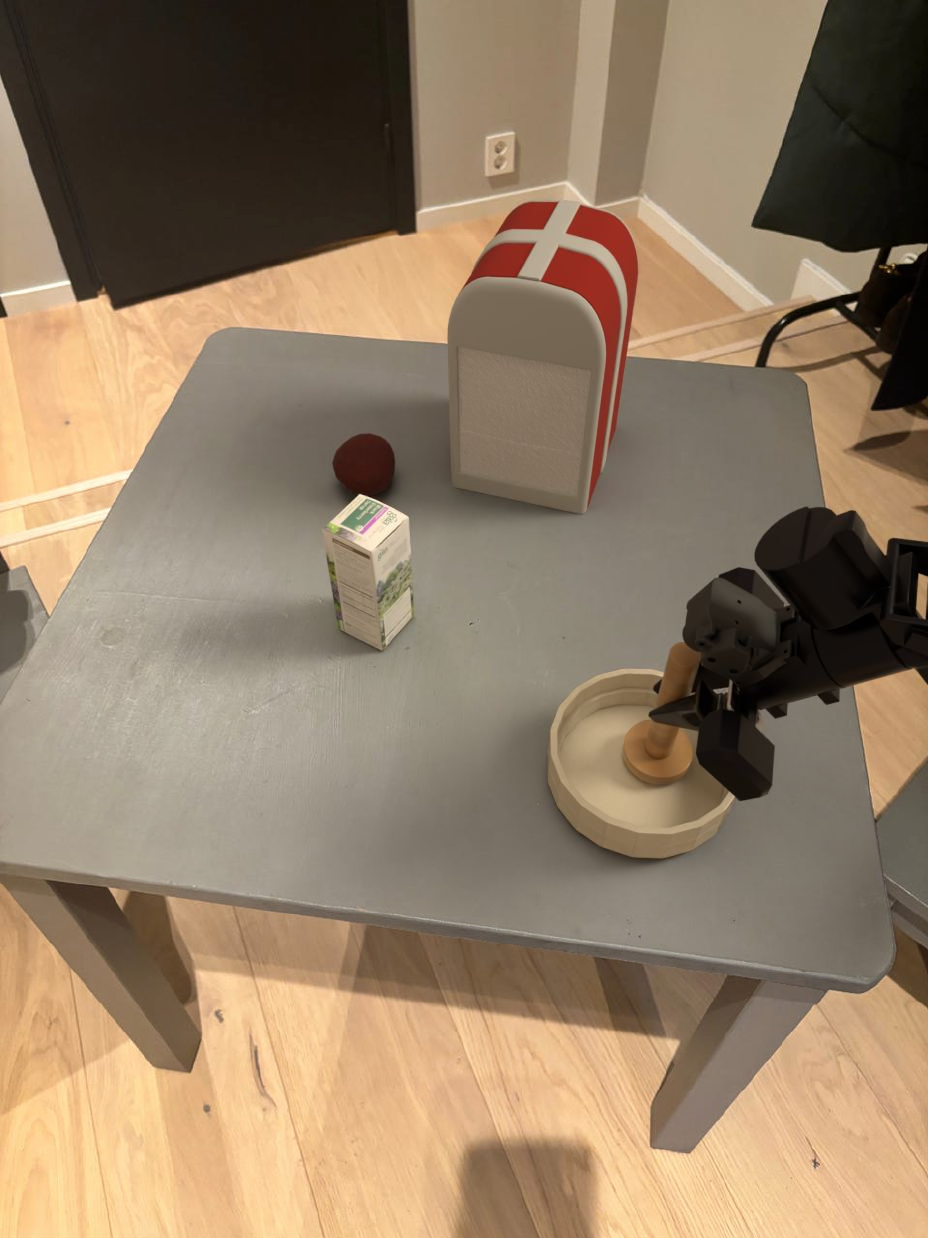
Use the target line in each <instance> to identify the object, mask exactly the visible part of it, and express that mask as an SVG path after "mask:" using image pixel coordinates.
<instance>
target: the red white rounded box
mask: <svg viewBox="0 0 928 1238" xmlns="http://www.w3.org/2000/svg"><path fill="white" fill-rule="evenodd" d="M639 265H640V263H639V255H638V250H637V245H636V241H635V239H634V236H633V234H632V232H631V230H630V228H629V227H628V225H627V224H626V223H625V222H624V220H623V219H622V218H621V217H619V215H617V214H615V213H614V212H612V211H611V210H607V209H603V208H599V207H596V206H592V205H589V204H586V203H581V202H580V201H576V200H568V199H563V198H561V199H559V200H553V199H552V200H551V199H550V200H549V199H548V200H547V199H544V200H542V199H541V200H538V199H536V200H535V199H532V200H531V199H530V200H527V201H524V202H522V203H520V204H518V205H517V206H516V207H515V208H513V209H512V210H511V211H510V213H509V214H508V215H507V216H506V217H505V219H504V220H503V222H502V224H500V227H499V228H498V230H497V231H496V232H495V235H494V237H493V238H492V239H490V241H489V242H488V243H487V244H486V245H485V247H484V248H483V250H482V252H481V253H480V255H479V257H478V258H477V259H476V261H475V263H474V266H473V268H472V270H471V273H470V274H469V277H468V278H467V280H466V281H465V283H464V285H463V286H462V287H461V289H460V291H459V293H458V294H457V296H456V298H455V300H454V302H453V304H452V307H451V308H450V313H449V316H448V321H447V322H448V323H447V335H446V336H447V337H446V339H447V367H448V368H447V370H448V371H447V375H448V402H449V403H448V405H449V407H448V408H449V438H450V442H449V443H450V470H451V471H450V475H451V486H452V487H453V488H456V489H461V490H465V491H471V492H474V493H475V492H476V493H480V494H485V495H489V496H493V497H499V498H504V499H507V500H512V501H518V502H522V503H527V504H531V505H536V506H539V507H545V508H549V509H555V510H559V511H563V512H568V513H573V514H578V515H583V514H585V513H586V512H587V510H588V509H589V506H590V503H591V501H592V497H593V495H594V492H595V489H596V485H597V483H598V480H599V477H600V475H601V474H602V473H603V471H604V469H605V465H606V463H607V456H608V452H609V449H610V447H611V444H612V441H613V437H614V435H615V431H616V429H617V426H618V425H617V424H618V418H619V410H620V403H621V397H622V391H623V384H624V377H625V370H626V363H627V357H628V349H629V343H630V337H631V329H632V323H633V318H634V317H633V316H634V309H635V302H636V295H637V290H638V283H639V282H638V281H639V273H640V271H639V269H640V268H639V267H640V266H639Z"/></svg>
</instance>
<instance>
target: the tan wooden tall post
mask: <svg viewBox="0 0 928 1238" xmlns="http://www.w3.org/2000/svg"><path fill="white" fill-rule="evenodd" d="M700 661H701V652H696V651H694V650H692V649H691V648H689V647H688V646H687V645H686V643H685V642H684V641H681V642H676V643H675V644H673V645H672V646H671V648H670V649H669V653H668V656H667V660H666V664H665V667H664V671H663V672H664V675H663V678H662V682H661V686H660V690H659V693H658V697H657V701H656V705H655V708H654V709H656V708H658V707H660V706H662V705H665V704H668V703H671V702H673V701H676V700H679V699H682V698H685V697H688V696H690V693H691V690H692V687H693V684H694V680H695V677H696V674H697V671H698V668H699V665H700ZM623 758H624V761H625V763H626V765H627V767H628V768H629V770H630V771H631V772H632V773H633V774H634V775H636V776H637V777H638V778H640V779H642V780H644V781H646V782H649V783H653V784H669V783H672V782H675V781H677V780H679V779H680V778H682V777H683V776H684V775H685V774H686V773H687V771H688V769H689V767H690V764H691V761H692V758H693V747H692V744H691V741H690V739H689V738H688V736H687V735H686V733H685V732H684V731H683V730H682V729H680V727H675V726H670V725H665V724H660V723H656V722H654V721H653V720H652V719H650V720H645V721H642V722H639V723H637V724H636V725H634V726H633V727H632V728H631V729H630V730H629V731H628V733H627V734H626V737H625V740H624V744H623Z"/></svg>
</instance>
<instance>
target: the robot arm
mask: <svg viewBox="0 0 928 1238" xmlns="http://www.w3.org/2000/svg"><path fill="white" fill-rule="evenodd" d="M753 557H754V562H755V564H756V566H757V567H758V568H759V569H760V571H761V572H762V573H763V574H764V575H765V576H766V578H767V579H768V580H769V581H770V583H771V584H772V585H773V586H774V588H775V589H776V590H777V591H778V592H779V593H780V595H781V596H782V597H783V598H784V600H786V602H787V603H788V605H786V606H785V602H784V600H782V598H780V596H779V595H778V594H777V593H776V592H775V590H774V589H772V587H771V586H770V585H769V584H768V583H767V582H766V581H765V580H764V578H763V577H762V576H761V575H760V574H759V573H758V572H757V571H756V569H753V568H752V569H751V568H746V567H741V566H738V567H735V568H732V569H730V570H727V571H724V572H723V573H720V574H718V577H714V578H713V579H712V580H711V581H709V582H708V583H707V584H706V585H704V587H702V589H700V590H699V591H698V592H697V593H695V595H693V596H692V597H691V598H690V599H689V600H688V601H687V602H686V607H685V608H686V615H685V622H684V626H683V628H682V632H681V633H682V634H681V635H682V640H683V642H685V643H686V645H687V646H688V647H689V648H691V649H692V650H694V651H696V652H701V661H700V665H699V668H698V671H697V674H696V677H695V680H694V684H693V687H692V690H691V693H695V694H693V695H690V696H688V697H685V698H682V699H679V700H676V701H673V702H671V703H668V704H665V705H662V706H660V707H658V708H656V709H654V710H652V711H650V712H649V714H648V716H649V718H651V719H652V720H653V721H654V722H656V723H660V724H665V725H670V726H675V727H680V728H685V729H690V730H695V731H699V732H698V739H697V747H696V756H697V759H698V762H699V764H700V765H701V766H702V767H703V768H704V769H705V770H706V771H707V772H708V773H709V774H711V775H712V776H713V777H714V778H715V779H716V780H717V781H718V782H719V783H721V784H722V785H723V786H724V787H725V788H726V789H727V790H728V791H729V792H730V793H732V794H733V795H734V796H735V797H736V800H738V801H739V802H745V801H748V800H754V799H759V798H762V797H765V796H767V795H768V794H769V792H770V790H771V789H772V786H773V779H774V764H775V763H774V762H775V752H776V751H775V750H776V748H775V747H776V745H775V744H774V743H772V742H771V740H770V739H769V738H768V737H767V736H766V735H764V733H763V731H764V718H763V715H762V713H761V711H763V710H766V712H767V713H768V714H769V715H771V717H772V718H774V719H775V720H777V719H779V718H783V717H787V716H788V706H789V704H792V703H795V702H798V701H802V700H805V699H810V698H813V697H816V696H817V697H818V698H819V700H821V701H822V702H823V704H824V705H826V706H828V705H832V704H836V703H840V701H841V700H840V699H841V696H840V693H841V691H840V690H842V689H845V688H849V687H852V686H856V685H859V684H863V683H866V682H872V681H874V680H878V679H882V678H885V677H890V676H892V675H896V674H900V673H904V672H907V671H910V670H911V671H912V670H913V669H914V670H915V672H917V674H918V675H919V676H920V677H921V678H922V680H923V681H924V683H925V684H926V685H927V686H928V583H927V584H926V585H927V587H926V601H925V603H926V605H925V618H924V617H923V616H922V614H921V613H920V611H919V610H918V609H917V606H918V605H917V604H918V593H919V592H918V589H919V578H920V577H919V575H921V576H925V577H927V578H928V541H923V540H917V539H909V538H900V537H891V538H888V540H887V542H886V553H885V554H884V552H883V550H882V549H881V547H880V546H879V545H878V544H877V542H876V541H875V540H874V539H873V537H872V535H870V533H869V531H868V528H867V525H866V522H865V521H864V520H863V519H862V517H861V516H860V514H859V513H858V512H857V511H856V510H854V509H850V510H847V511H845V512H842V513H839V514H836V513H835V511H833V509H831V508H828V507H826V506H814V507H809V506H803V507H801V508H797V509H795V510H793V511H792V512H791V511H790V512H789V513H788V514H786V515H784V516H783V517H781V518H780V519H778V520H777V521H776V522H774V523H773V525H771V526H770V527H769V528H768V529H767V530H766V531H765V532H764V533H763V535H762V537H761V538H760V539H759V540H758V542H757V545H756V547H755V549H754V556H753ZM661 682H662V679H661V680H660V681H658V682H657V683H656V684H655V685H654V686H653V691H654V692H655V693H656V694H658V693H659V690H660V686H661ZM720 689H728V691H727V692H724V693H723V692H718V693H716V691H715V690H720Z"/></svg>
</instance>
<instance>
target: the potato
mask: <svg viewBox="0 0 928 1238" xmlns="http://www.w3.org/2000/svg"><path fill="white" fill-rule="evenodd" d="M395 456H396V455H395V452H394V449H393V447H392V445H391V444H390V442H389V441H387V440H386V439H385V438H383V436H380V435H377V434H375V433H369V432H368V433H358V434H356V435H353V436H351V437H350V438H348V439H347V440H345V442H342V444H341V445H340V446H339V447H338V448H337V449H336V450H335V453H334V455H333V459H332V462H331V464H332V469H333V472H334V475H335V477H336V480H338V481H339V482H340V484H341V485H342V486H343V487H344V488H345V489H346V490H347V491H349V492H351V493H353V494H355V495H357V496H358V495H359V494H361V495H364V496H367V497H369V496H374V495H377V494H379V493H381V492H383V491H384V490H386V489H387V488H388V487H389V485H390V484H391V483H392V480H393V478H394V475H395V469H396V457H395Z"/></svg>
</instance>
